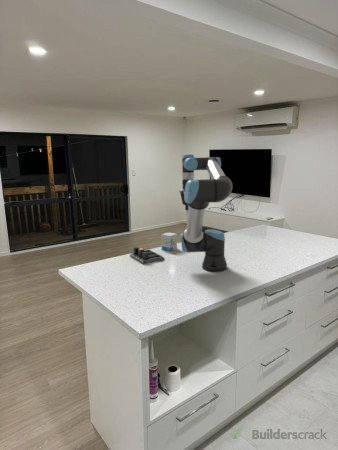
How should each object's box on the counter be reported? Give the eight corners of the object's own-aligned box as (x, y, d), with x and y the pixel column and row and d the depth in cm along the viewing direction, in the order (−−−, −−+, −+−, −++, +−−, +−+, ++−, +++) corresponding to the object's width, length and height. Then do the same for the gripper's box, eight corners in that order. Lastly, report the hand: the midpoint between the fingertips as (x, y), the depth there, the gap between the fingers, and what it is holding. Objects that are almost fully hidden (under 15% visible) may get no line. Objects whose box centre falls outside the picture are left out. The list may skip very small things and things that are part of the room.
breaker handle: (144, 256, 212) (144, 249, 211) (140, 257, 211) (140, 249, 209) (142, 255, 215) (142, 248, 213) (138, 256, 213) (138, 248, 212)
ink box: (170, 251, 230) (170, 235, 227) (161, 249, 235) (160, 234, 232) (177, 248, 236) (177, 233, 234) (168, 246, 241) (167, 231, 239)
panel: (164, 259, 211) (164, 250, 209) (143, 264, 203) (142, 254, 201) (150, 252, 227) (150, 243, 226) (130, 256, 219) (129, 247, 218)
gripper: (193, 178, 210) (193, 213, 215) (176, 179, 203) (176, 215, 208) (199, 178, 204) (199, 214, 209) (183, 179, 197) (183, 217, 202)
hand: (188, 215), depth 208 cm, fingers closed
